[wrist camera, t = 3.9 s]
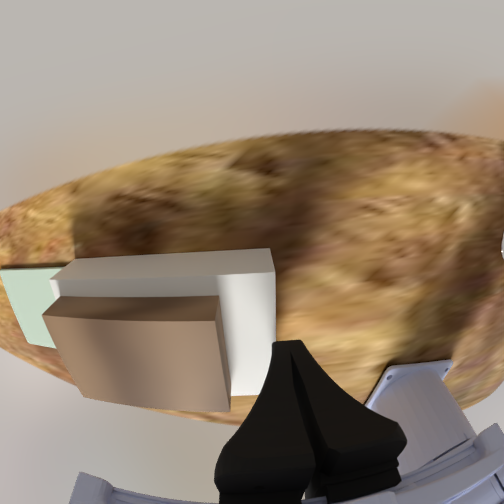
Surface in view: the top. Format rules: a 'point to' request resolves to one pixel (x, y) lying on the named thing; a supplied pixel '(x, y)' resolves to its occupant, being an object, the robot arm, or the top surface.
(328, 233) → the top surface
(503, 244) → the wineglass
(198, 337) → the tan cardboard slab
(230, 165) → the top surface
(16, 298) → the mat
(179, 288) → the tray
